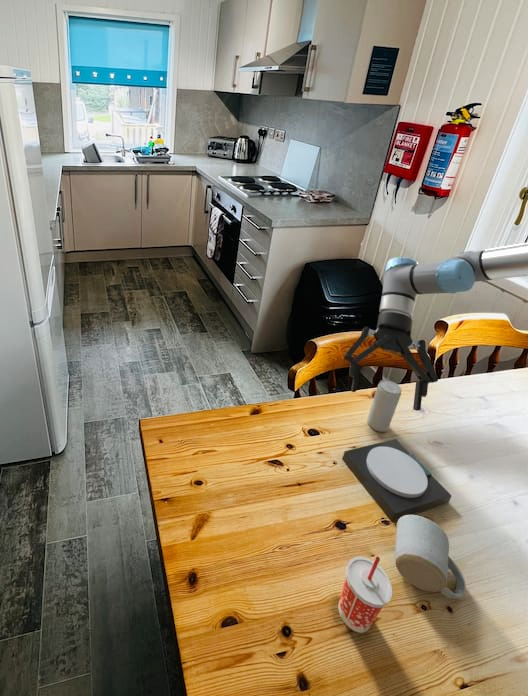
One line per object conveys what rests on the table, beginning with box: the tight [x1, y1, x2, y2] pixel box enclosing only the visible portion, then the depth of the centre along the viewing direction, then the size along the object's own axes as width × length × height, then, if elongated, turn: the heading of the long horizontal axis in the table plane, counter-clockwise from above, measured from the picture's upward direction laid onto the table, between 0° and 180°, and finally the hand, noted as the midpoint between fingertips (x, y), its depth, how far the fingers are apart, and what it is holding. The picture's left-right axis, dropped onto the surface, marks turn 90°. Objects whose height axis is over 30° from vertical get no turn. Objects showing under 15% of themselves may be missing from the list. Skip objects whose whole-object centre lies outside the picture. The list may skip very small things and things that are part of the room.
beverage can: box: [366, 379, 402, 433], centre depth 93 cm, size 5×5×12 cm
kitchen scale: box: [341, 438, 452, 522], centre depth 82 cm, size 14×14×3 cm
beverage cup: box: [337, 556, 393, 634], centre depth 58 cm, size 6×6×14 cm
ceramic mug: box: [394, 514, 467, 600], centre depth 65 cm, size 11×8×8 cm
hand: (384, 400), depth 93 cm, fingers open, 13 cm apart
